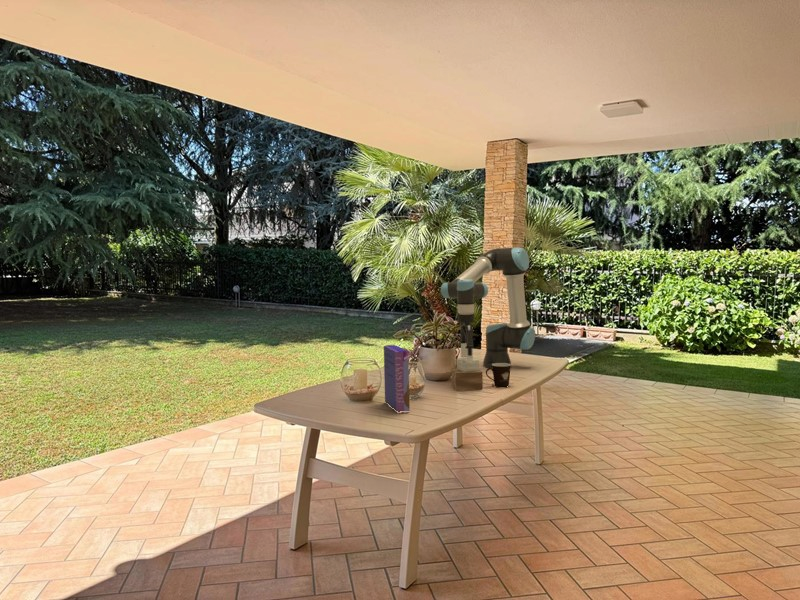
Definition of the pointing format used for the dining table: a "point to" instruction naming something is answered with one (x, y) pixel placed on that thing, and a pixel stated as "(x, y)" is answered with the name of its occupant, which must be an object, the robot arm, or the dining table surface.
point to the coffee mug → (500, 374)
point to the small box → (467, 365)
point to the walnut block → (467, 380)
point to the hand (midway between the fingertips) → (466, 359)
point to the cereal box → (396, 377)
